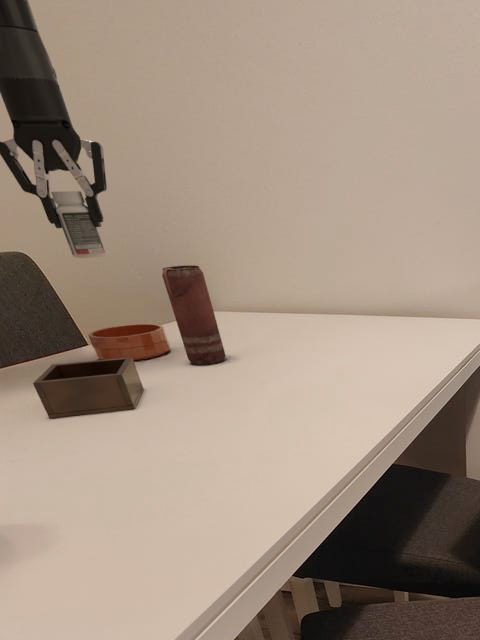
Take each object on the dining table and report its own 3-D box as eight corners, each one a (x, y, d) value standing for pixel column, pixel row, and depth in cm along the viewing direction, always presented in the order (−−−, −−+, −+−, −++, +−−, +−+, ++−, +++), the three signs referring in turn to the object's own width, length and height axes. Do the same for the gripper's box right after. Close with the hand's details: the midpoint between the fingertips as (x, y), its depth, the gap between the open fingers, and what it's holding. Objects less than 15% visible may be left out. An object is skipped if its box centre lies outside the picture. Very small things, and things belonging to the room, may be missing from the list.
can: (180, 364, 101) (150, 268, 92) (207, 355, 105) (180, 263, 96) (208, 367, 99) (179, 269, 90) (233, 358, 103) (208, 264, 95)
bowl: (92, 365, 101) (82, 340, 99) (104, 350, 111) (95, 327, 108) (167, 358, 104) (159, 333, 102) (173, 344, 113) (165, 321, 111)
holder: (49, 418, 78) (32, 383, 76) (66, 397, 86) (51, 364, 84) (134, 408, 81) (121, 374, 78) (143, 389, 89) (132, 356, 86)
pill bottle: (112, 255, 95) (91, 191, 90) (87, 258, 92) (63, 191, 87) (92, 255, 97) (69, 191, 92) (66, 257, 93) (41, 191, 88)
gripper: (-44, 72, 77) (21, 230, 87) (78, 75, 80) (126, 227, 91) (-26, 80, 82) (33, 228, 93) (87, 82, 86) (132, 224, 96)
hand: (79, 226), depth 92 cm, fingers closed on pill bottle, 4 cm apart
